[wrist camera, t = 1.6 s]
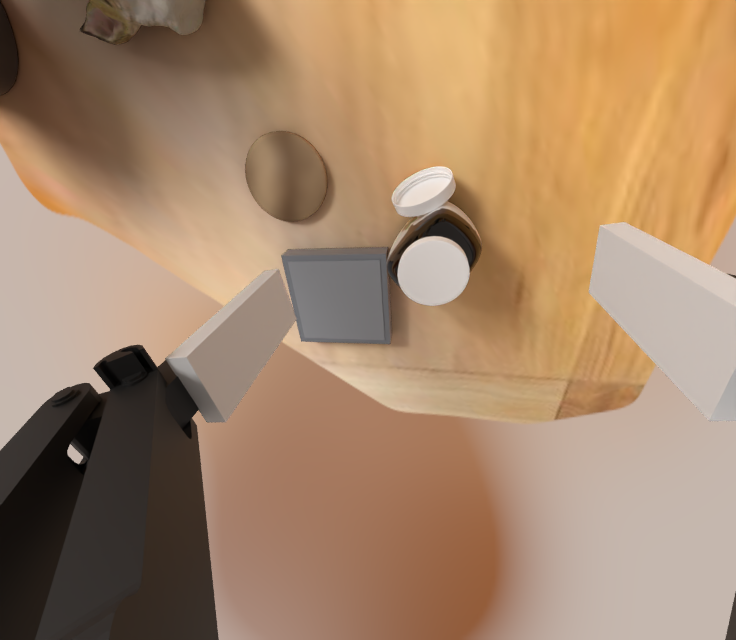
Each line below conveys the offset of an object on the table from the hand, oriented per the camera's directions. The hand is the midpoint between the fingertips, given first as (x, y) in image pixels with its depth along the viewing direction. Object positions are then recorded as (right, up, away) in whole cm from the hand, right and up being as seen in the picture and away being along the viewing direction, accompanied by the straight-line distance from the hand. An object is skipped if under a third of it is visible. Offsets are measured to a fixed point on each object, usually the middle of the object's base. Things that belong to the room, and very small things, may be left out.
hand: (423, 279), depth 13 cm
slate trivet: (-6, +2, +33) cm, 33 cm away
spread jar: (+5, +10, +26) cm, 28 cm away
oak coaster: (-12, +16, +25) cm, 32 cm away
